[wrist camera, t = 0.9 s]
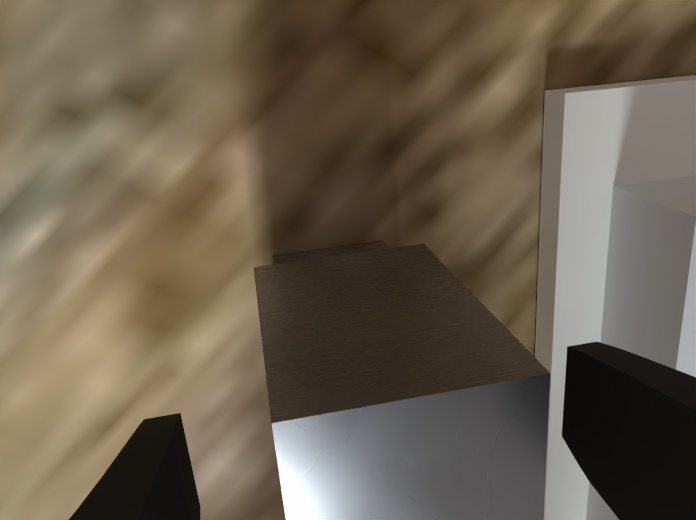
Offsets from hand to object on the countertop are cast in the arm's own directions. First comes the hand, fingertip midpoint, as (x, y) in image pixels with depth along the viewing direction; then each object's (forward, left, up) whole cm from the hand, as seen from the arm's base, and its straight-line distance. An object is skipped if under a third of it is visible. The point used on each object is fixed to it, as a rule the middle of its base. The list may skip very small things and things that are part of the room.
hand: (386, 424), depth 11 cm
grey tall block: (0, 0, -6) cm, 6 cm away
